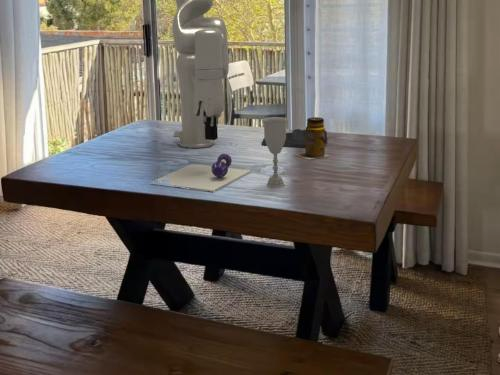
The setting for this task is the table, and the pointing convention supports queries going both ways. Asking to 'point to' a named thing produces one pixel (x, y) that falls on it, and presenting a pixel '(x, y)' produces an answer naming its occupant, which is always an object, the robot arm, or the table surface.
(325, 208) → the table surface
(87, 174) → the table surface
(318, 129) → the condiment
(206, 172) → the mat
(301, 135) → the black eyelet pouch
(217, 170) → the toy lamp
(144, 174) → the table surface
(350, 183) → the table surface
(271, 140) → the chalice
